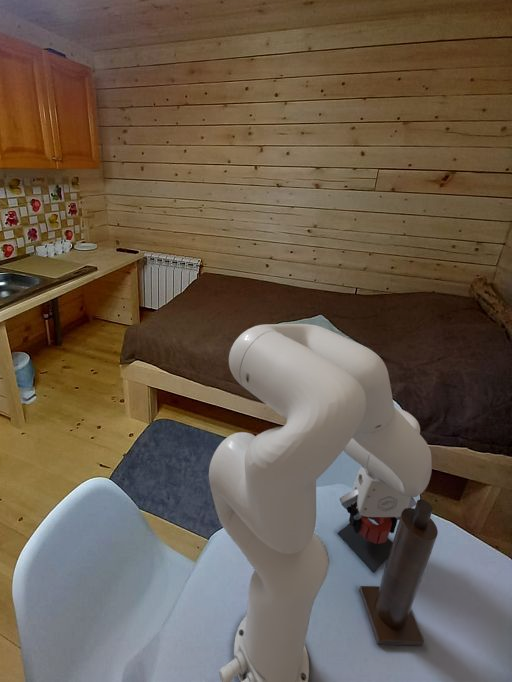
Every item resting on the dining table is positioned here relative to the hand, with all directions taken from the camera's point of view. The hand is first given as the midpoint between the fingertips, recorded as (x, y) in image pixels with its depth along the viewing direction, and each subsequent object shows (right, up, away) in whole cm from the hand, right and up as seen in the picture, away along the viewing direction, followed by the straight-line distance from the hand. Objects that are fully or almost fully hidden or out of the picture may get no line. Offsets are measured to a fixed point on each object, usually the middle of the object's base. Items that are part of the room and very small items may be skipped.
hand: (371, 526), depth 75 cm
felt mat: (0, -5, +2) cm, 5 cm away
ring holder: (-2, -9, -11) cm, 14 cm away
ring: (0, 0, 0) cm, 0 cm away
